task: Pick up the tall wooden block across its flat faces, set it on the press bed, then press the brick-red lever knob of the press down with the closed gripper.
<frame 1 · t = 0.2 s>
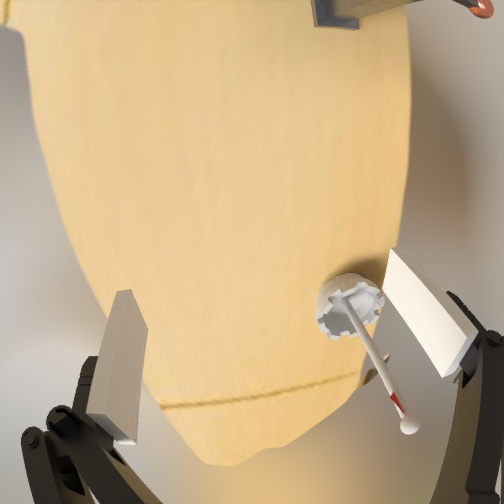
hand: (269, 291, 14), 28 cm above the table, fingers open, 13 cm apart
flag stand: (341, 295, 54), on the table
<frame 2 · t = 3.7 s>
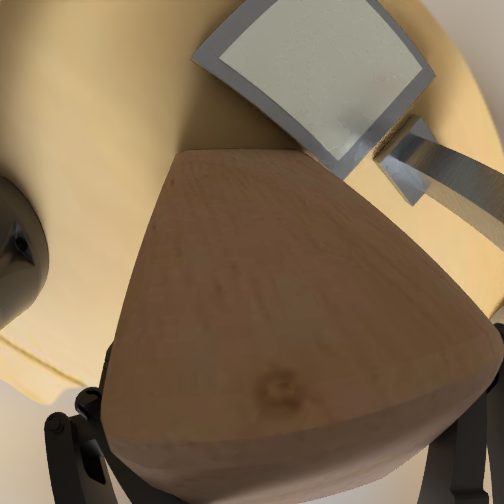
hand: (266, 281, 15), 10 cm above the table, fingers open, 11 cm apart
flag stand: (496, 321, 44), on the table
press: (323, 58, 18), on the table
wooden block: (239, 207, 23), on the table, touching gripper
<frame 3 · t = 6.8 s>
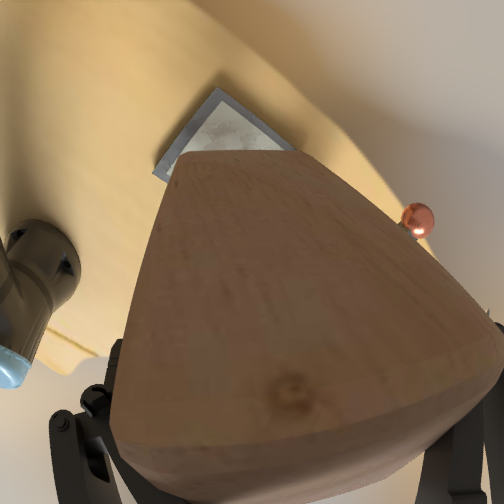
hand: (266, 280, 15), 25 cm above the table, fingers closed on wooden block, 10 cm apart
press: (227, 159, 36), on the table
lever: (348, 278, 27), point 17 cm above the table, hinge at 0.0°
wooden block: (242, 208, 23), point 15 cm above the table, touching gripper
when the fingers open (13 cm above the table, at t = 9.4 s): wooden block drops 1 cm, resting on press.
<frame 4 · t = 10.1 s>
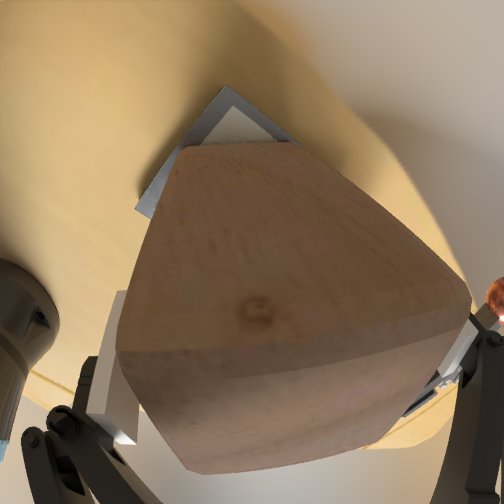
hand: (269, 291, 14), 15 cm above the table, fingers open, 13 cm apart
press: (239, 187, 27), on the table
lever: (408, 372, 17), point 17 cm above the table, hinge at 0.0°
wooden block: (240, 197, 25), point 2 cm above the table, touching press
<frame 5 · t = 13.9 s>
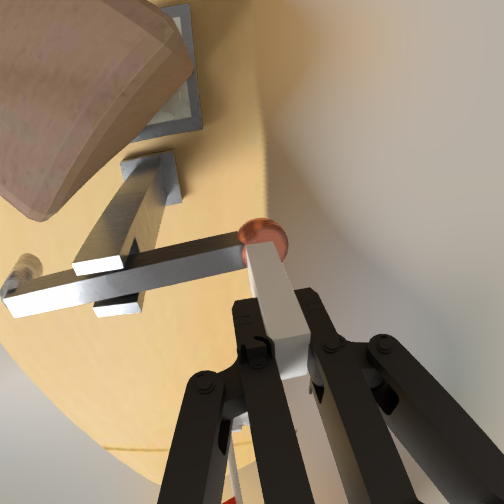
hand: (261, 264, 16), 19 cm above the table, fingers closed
flag stand: (223, 400, 58), on the table
press: (135, 77, 25), on the table
lever: (124, 263, 17), point 17 cm above the table, hinge at 6.7°, touching gripper
wooden block: (128, 77, 23), point 2 cm above the table, touching press
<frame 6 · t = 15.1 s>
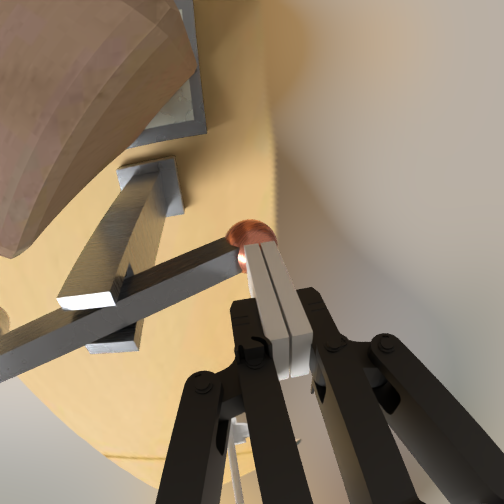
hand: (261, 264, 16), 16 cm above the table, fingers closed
flag stand: (226, 413, 55), on the table
press: (132, 76, 22), on the table
lever: (110, 293, 15), point 17 cm above the table, hinge at 26.6°, touching gripper
wooden block: (124, 76, 21), point 2 cm above the table, touching press
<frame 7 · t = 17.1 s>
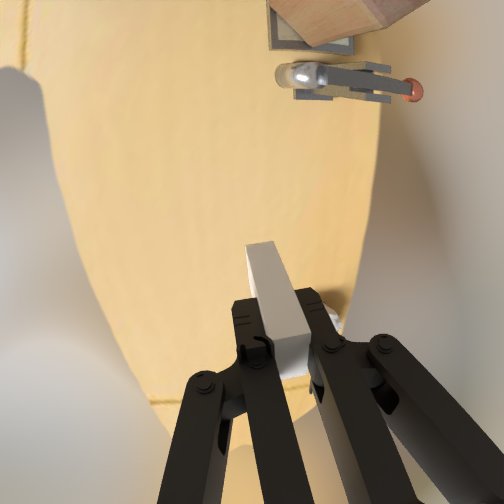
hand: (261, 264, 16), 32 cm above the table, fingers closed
press: (308, 13, 33), on the table
lever: (367, 82, 25), point 17 cm above the table, hinge at 26.6°
wooden block: (311, 10, 31), point 2 cm above the table, touching press
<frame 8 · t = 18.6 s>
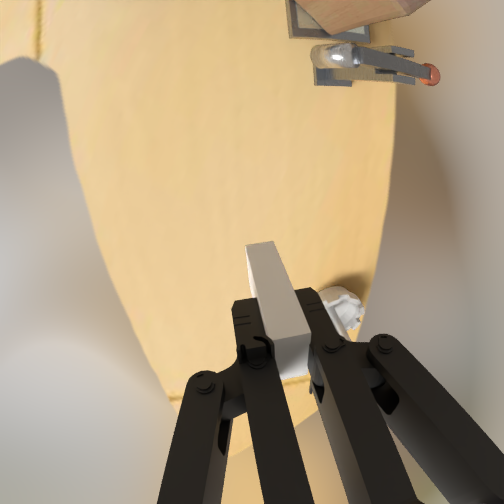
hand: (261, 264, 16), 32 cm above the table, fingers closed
flag stand: (329, 304, 65), on the table
press: (324, 3, 32), on the table
lever: (391, 65, 24), point 17 cm above the table, hinge at 26.6°
wooden block: (328, 0, 30), point 2 cm above the table, touching press
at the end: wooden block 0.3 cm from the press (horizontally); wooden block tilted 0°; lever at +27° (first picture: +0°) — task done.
